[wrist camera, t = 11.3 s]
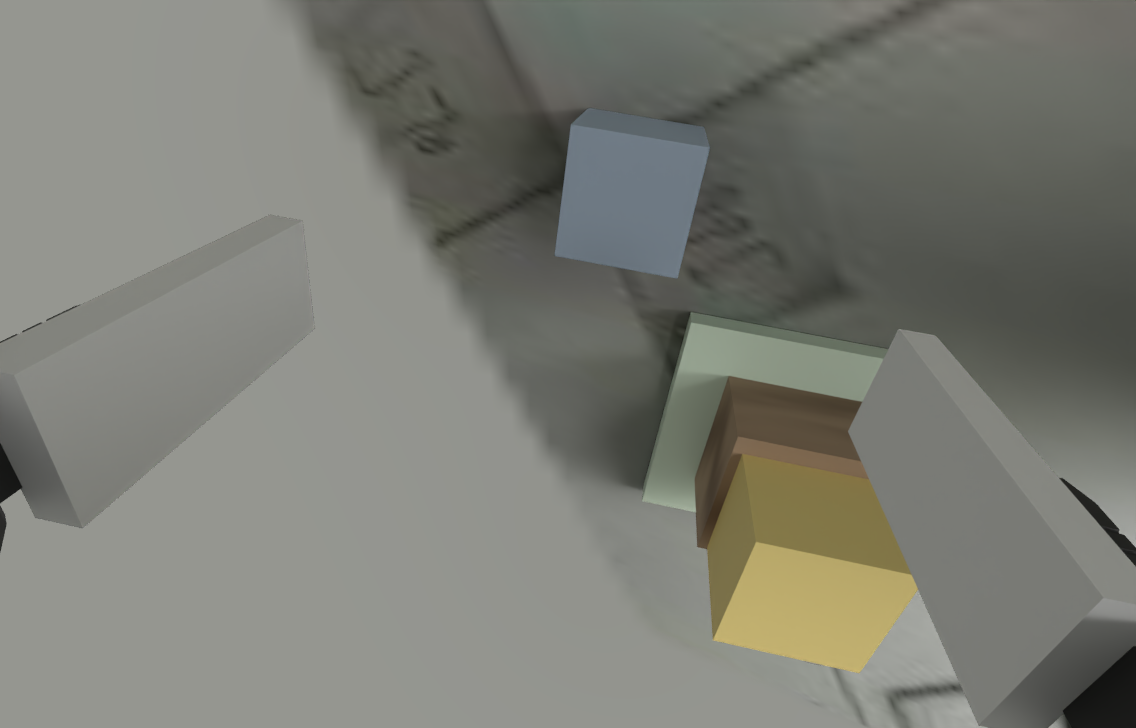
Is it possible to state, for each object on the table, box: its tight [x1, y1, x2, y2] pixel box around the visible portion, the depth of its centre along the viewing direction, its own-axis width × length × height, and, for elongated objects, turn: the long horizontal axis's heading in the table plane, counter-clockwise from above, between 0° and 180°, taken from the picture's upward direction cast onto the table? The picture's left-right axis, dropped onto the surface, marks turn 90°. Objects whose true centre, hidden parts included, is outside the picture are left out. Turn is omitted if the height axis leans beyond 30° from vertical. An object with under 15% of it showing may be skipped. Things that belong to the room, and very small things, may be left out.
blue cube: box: [555, 108, 710, 278], centre depth 24 cm, size 5×5×5 cm
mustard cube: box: [707, 454, 918, 673], centre depth 24 cm, size 6×6×5 cm
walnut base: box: [695, 376, 869, 549], centre depth 28 cm, size 7×7×5 cm
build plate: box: [642, 312, 888, 512], centre depth 31 cm, size 12×12×1 cm
